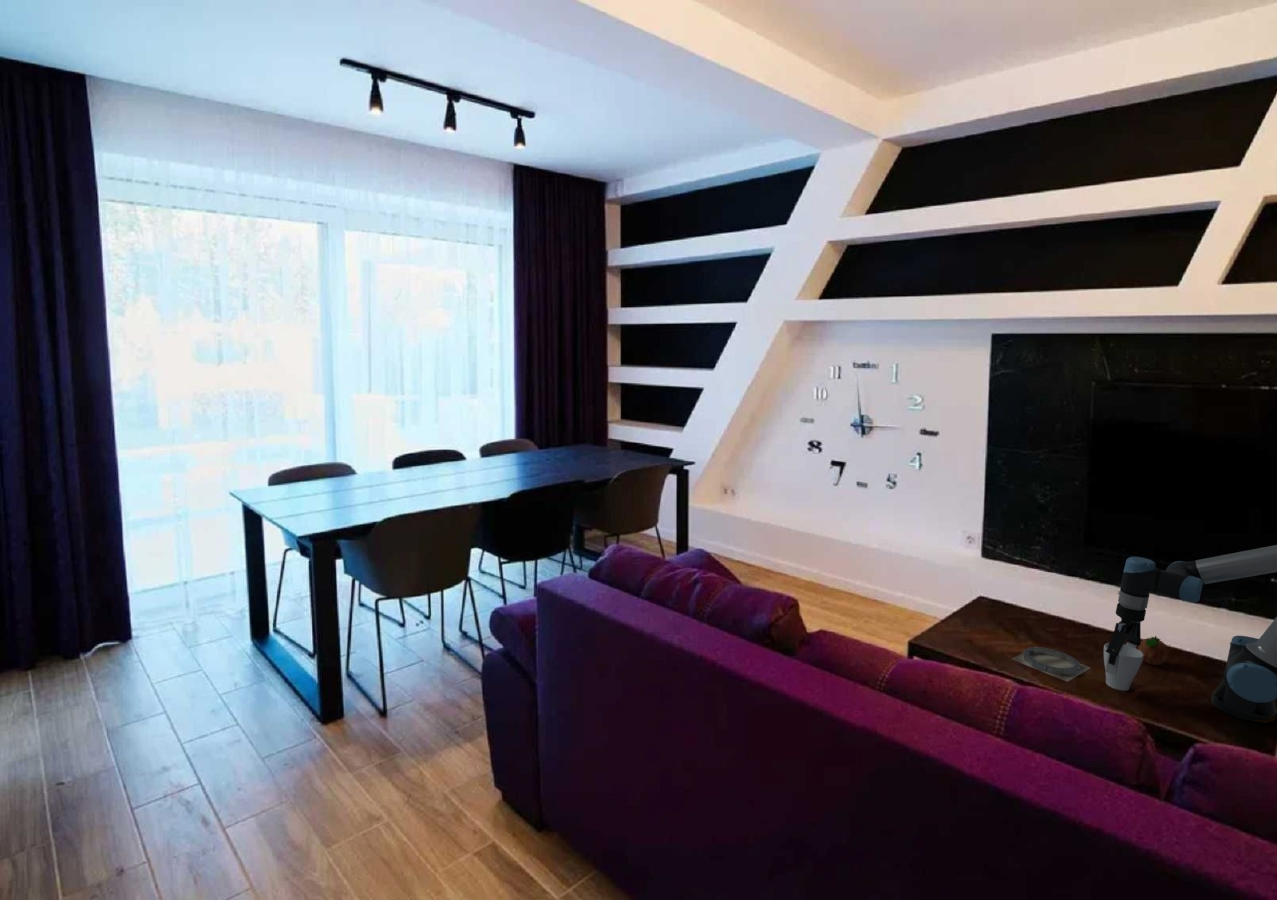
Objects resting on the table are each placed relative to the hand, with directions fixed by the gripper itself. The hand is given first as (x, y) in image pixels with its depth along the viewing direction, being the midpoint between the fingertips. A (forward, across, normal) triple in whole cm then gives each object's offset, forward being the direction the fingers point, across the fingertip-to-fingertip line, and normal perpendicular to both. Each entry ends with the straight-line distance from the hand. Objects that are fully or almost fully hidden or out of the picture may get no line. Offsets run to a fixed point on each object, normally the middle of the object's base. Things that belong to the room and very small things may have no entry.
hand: (1119, 667), depth 221 cm
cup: (+7, 0, 0) cm, 7 cm away
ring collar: (+6, +3, -19) cm, 20 cm away
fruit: (+7, -32, -1) cm, 33 cm away
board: (+8, +3, -19) cm, 20 cm away
